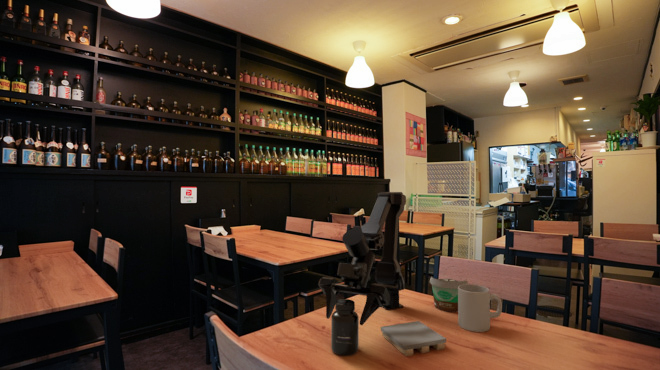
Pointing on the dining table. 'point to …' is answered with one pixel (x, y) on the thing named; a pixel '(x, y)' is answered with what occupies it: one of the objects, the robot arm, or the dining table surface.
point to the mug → (476, 307)
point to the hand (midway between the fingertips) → (343, 321)
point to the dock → (413, 337)
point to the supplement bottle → (345, 328)
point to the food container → (446, 293)
